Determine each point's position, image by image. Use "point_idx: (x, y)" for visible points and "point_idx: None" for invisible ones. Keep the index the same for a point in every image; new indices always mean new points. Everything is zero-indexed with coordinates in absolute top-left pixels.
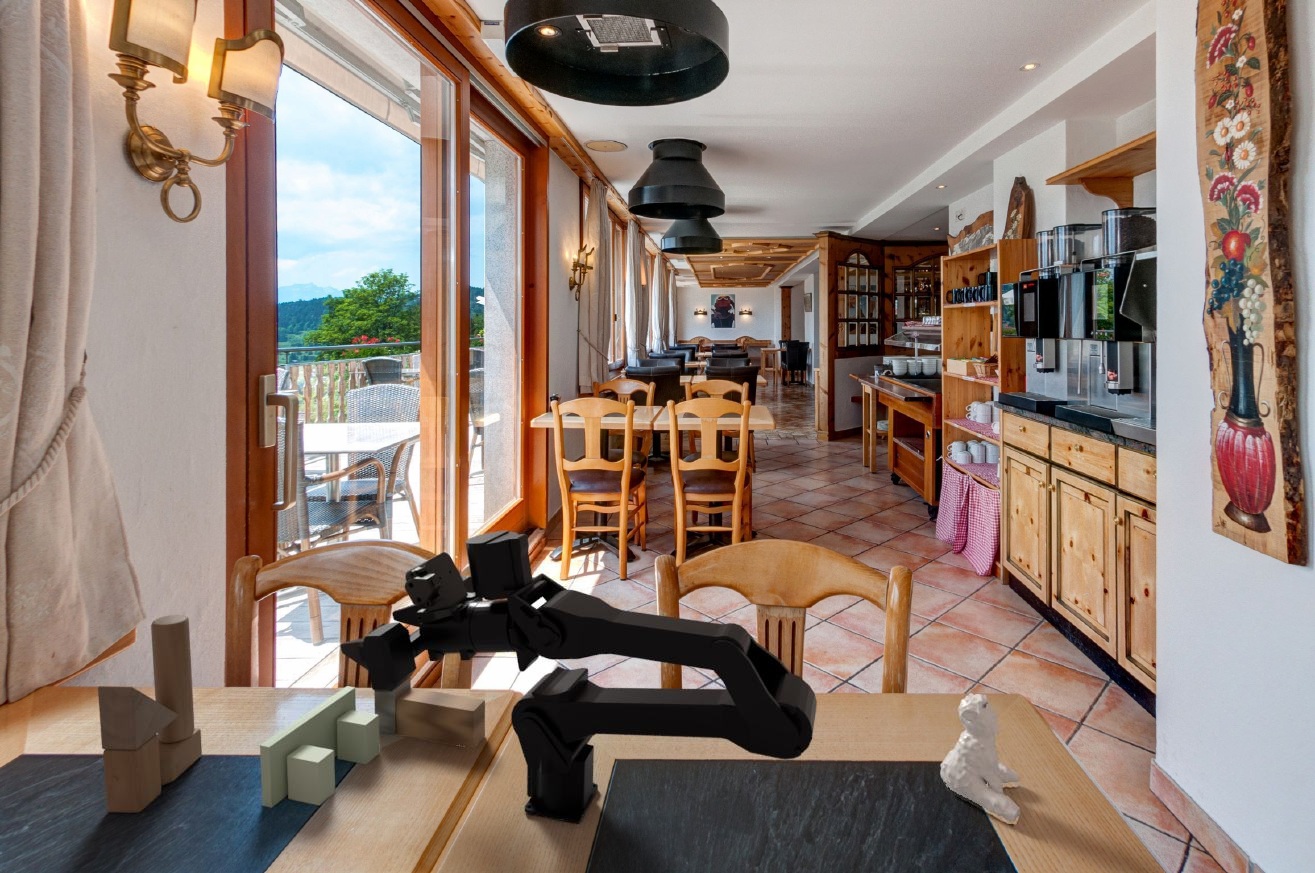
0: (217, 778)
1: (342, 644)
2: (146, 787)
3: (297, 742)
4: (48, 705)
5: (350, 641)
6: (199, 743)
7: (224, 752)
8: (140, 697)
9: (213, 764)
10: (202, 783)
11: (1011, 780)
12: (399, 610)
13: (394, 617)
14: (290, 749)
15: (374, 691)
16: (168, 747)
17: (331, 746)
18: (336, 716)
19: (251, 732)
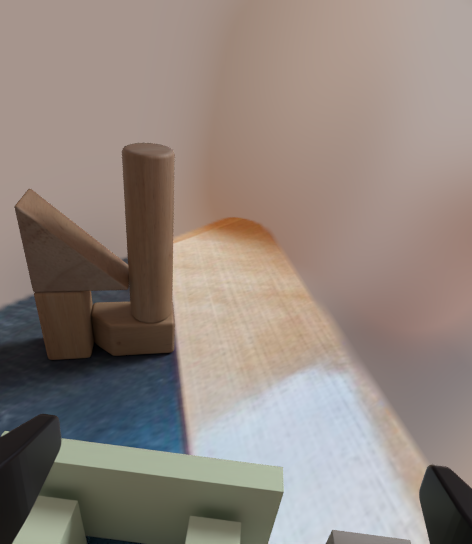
0: (121, 396)
1: (27, 422)
2: (58, 341)
3: (78, 484)
4: (235, 228)
5: (7, 449)
6: (168, 338)
7: (184, 370)
8: (36, 229)
9: (155, 374)
10: (109, 386)
11: None
12: (454, 503)
13: (424, 491)
14: (58, 484)
15: (328, 540)
16: (123, 317)
17: (183, 534)
18: (206, 505)
19: (236, 373)
